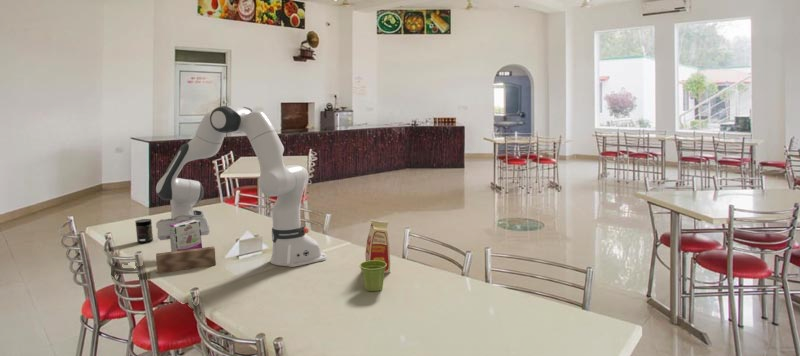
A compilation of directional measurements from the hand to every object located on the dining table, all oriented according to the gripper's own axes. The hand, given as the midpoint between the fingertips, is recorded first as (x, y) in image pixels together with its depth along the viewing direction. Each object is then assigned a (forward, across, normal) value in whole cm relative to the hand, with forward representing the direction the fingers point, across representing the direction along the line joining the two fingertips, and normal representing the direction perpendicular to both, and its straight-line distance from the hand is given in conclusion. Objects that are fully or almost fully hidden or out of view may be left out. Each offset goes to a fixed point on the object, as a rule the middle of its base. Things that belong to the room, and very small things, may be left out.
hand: (185, 245), depth 200 cm
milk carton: (+39, +67, -30) cm, 83 cm away
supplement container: (-22, -17, +31) cm, 41 cm away
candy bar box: (+7, 0, +2) cm, 7 cm away
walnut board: (+13, 0, -5) cm, 14 cm away
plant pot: (+51, +58, -42) cm, 88 cm away
